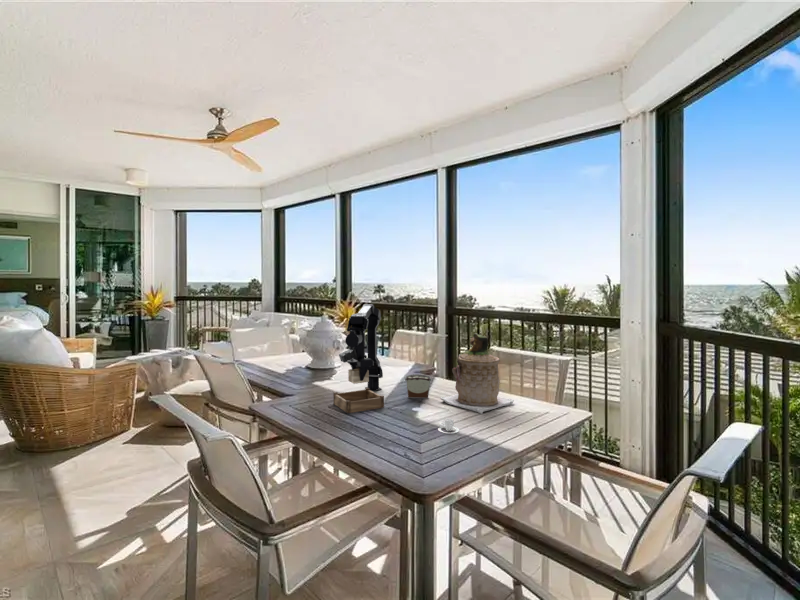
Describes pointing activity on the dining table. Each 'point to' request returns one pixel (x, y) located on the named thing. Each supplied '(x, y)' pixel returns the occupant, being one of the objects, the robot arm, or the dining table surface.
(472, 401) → the cookie jar
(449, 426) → the teacup and saucer
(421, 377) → the food container
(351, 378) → the pale crate
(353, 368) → the robot arm
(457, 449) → the dining table surface
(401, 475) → the dining table surface
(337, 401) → the crate
